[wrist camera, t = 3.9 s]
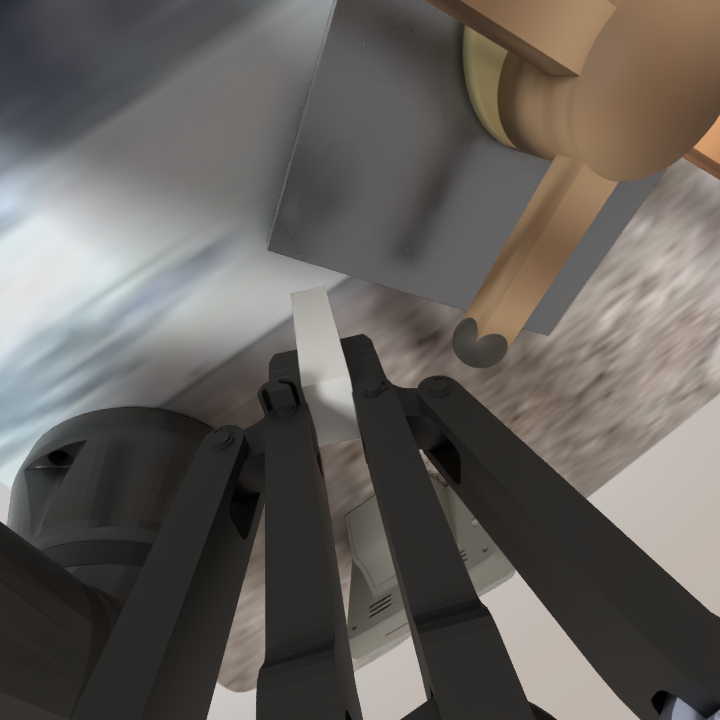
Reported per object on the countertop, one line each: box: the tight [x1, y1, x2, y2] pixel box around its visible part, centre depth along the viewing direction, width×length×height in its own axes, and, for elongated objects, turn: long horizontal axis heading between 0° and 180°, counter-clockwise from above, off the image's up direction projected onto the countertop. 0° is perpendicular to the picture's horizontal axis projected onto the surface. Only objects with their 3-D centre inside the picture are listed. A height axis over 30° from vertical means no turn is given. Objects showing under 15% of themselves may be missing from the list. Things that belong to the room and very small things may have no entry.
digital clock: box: [345, 475, 516, 659], centre depth 35 cm, size 16×9×11 cm, turn 119°
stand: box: [267, 0, 667, 336], centre depth 19 cm, size 24×21×6 cm
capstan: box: [425, 0, 720, 368], centre depth 16 cm, size 25×25×7 cm
